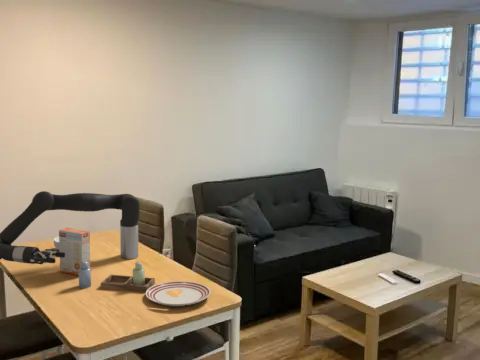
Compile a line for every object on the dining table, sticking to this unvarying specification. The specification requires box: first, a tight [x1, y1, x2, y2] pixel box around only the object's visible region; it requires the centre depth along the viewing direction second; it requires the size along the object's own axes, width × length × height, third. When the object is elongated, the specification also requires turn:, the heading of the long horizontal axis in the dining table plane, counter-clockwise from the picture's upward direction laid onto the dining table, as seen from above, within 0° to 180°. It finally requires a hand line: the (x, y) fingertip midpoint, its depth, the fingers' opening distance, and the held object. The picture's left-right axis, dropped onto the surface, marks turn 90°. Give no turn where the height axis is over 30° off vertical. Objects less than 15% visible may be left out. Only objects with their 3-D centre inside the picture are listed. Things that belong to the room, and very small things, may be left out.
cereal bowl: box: [53, 235, 60, 251], centre depth 276 cm, size 17×17×7 cm
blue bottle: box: [78, 261, 92, 289], centre depth 225 cm, size 5×5×11 cm
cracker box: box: [58, 227, 91, 277], centre depth 241 cm, size 14×6×21 cm, turn 65°
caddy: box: [100, 274, 156, 293], centre depth 226 cm, size 11×21×3 cm, turn 81°
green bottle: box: [132, 261, 146, 286], centre depth 225 cm, size 5×5×11 cm
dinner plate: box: [145, 280, 212, 307], centre depth 216 cm, size 27×27×3 cm
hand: (59, 257), depth 226 cm, fingers open, 8 cm apart
